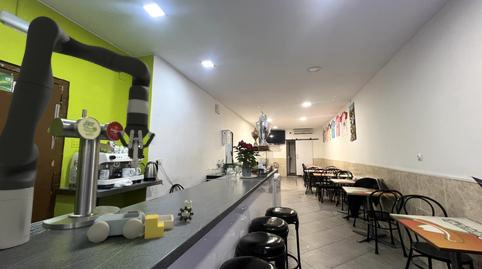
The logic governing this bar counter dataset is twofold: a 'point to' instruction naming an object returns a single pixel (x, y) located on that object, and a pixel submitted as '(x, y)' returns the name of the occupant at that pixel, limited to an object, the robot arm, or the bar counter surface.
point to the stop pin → (135, 152)
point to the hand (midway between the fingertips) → (135, 158)
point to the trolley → (117, 225)
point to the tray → (167, 221)
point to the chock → (153, 227)
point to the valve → (186, 211)
